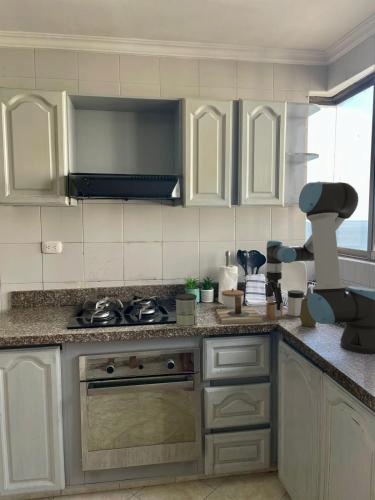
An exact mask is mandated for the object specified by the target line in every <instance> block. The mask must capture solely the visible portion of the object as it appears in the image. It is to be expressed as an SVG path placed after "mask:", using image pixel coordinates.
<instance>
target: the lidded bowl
mask: <svg viewBox="0 0 375 500" xmlns="http://www.w3.org/2000/svg"><path fill="white" fill-rule="evenodd" d="M244 294H245V292H244V291H243V290H239V289H234V288H231V289H226V290H223V291H221V300H222V304H223V305H224V307H226V308H225V309H235V296H241V306H242V305H243V303H244V298H245V297H244Z"/></svg>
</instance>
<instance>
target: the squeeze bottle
mask: <svg viewBox="0 0 375 500" xmlns="http://www.w3.org/2000/svg"><path fill="white" fill-rule="evenodd" d="M312 293H313V292H312V289H311V287H309V286H308V287H307V288H306V293H304V299H303V300H302V302H301V310H300V316H299V320H300V322H301V325H302V326H304V327H307V328H308V327H309V328H310V327H315V326H316V324H317V322H316V321H315V320H314V319H313V317H312V316H311V315H310V312H309V310H308V305H307V300H308V297H309V295H310V294H312Z"/></svg>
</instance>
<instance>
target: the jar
mask: <svg viewBox="0 0 375 500" xmlns="http://www.w3.org/2000/svg"><path fill="white" fill-rule="evenodd" d="M304 295H305V292H304V291H303V290H298V289H297V290H296V289H294V290H293V289H291V290H287V315H289V316H293V317H300V310H301V302H302V300H303V299H304Z"/></svg>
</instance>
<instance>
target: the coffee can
mask: <svg viewBox="0 0 375 500" xmlns="http://www.w3.org/2000/svg"><path fill="white" fill-rule="evenodd" d="M197 297H198V295H197V294H193V293H181V294H180V293H179V294H177V295H175V297H174V298H175V318H176V319H175V322H176V323H175V325H176V324H177V325H178V326H180V328H192V327H193V328H194V327H196V326H197V325H198V312H197V311H198V309H197V305H198V304H197V301H198V300H197ZM177 325H176V326H177ZM178 326H177V327H178Z"/></svg>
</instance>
